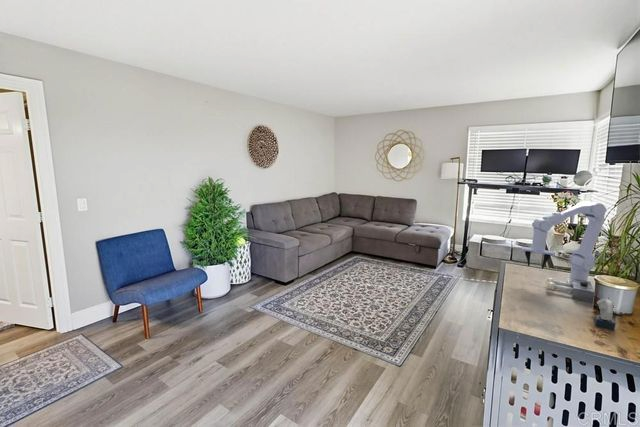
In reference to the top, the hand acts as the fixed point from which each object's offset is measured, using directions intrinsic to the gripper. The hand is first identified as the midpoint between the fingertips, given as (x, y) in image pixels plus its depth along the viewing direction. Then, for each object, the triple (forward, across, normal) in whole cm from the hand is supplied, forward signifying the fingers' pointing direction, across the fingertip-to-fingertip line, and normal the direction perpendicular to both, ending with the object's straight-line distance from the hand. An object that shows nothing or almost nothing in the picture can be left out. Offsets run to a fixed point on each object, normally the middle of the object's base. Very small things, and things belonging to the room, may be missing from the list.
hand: (535, 266), depth 164 cm
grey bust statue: (+10, +24, -35) cm, 43 cm away
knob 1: (+8, +11, -7) cm, 16 cm away
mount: (+9, +19, -4) cm, 22 cm away
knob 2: (+8, +12, 0) cm, 14 cm away
